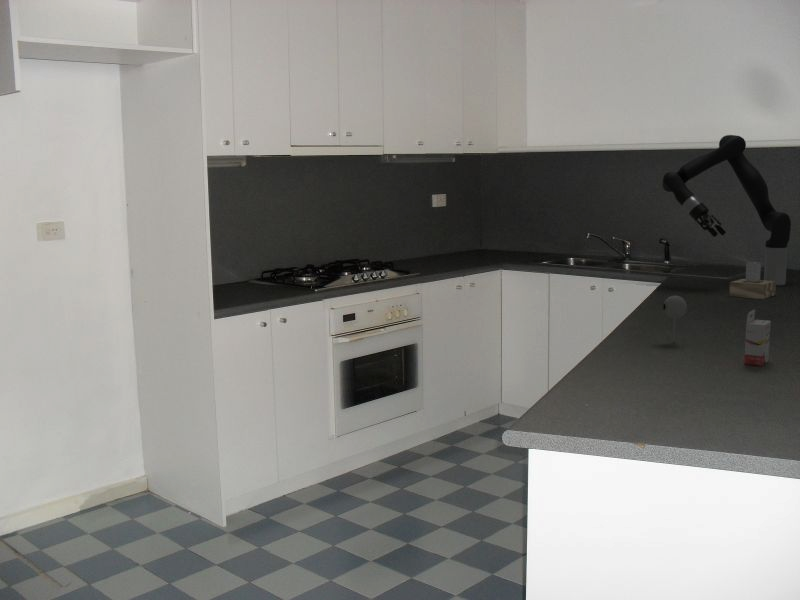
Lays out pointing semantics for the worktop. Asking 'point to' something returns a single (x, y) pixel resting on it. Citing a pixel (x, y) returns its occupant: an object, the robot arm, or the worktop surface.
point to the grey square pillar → (753, 272)
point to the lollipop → (674, 309)
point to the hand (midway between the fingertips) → (720, 234)
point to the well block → (752, 289)
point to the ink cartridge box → (757, 340)
